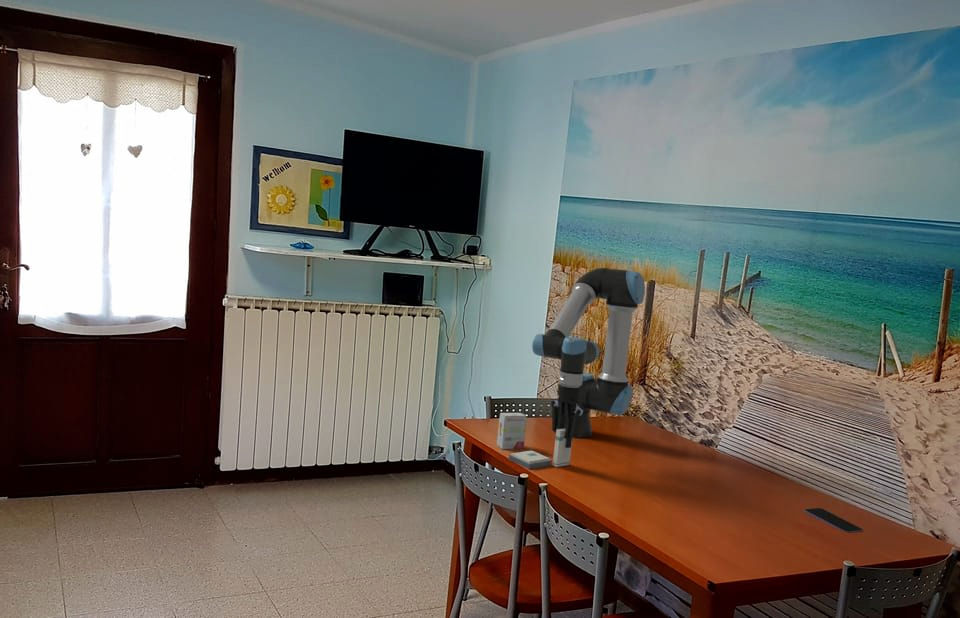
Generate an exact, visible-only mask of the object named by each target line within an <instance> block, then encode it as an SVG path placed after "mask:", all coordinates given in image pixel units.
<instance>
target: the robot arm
mask: <svg viewBox="0 0 960 618" xmlns="http://www.w3.org/2000/svg"><path fill="white" fill-rule="evenodd" d="M570 291H571V294H570V295H569V296H568V298H567V300H566V301H565V303H564V304H563V306H562V307H561V309H560V310H559V312H558V314H557V315H556V317H555V318H554V320H553V321H552V323H551V325H550V326H549V328H548V329H547V330H546V332H545V334H544V333H538V334H536V335H534V337H533V340H532V343H531V344H532V345H531V348H532V351H533V354H535V355H537V356H539V357H543V358H550V359H553V360H560V369H559V378H558V383H559V384H558V386H557V400H551V402H550V404H551V408H552V411H551V412H552V414H551V416H552V417H551V418H552V420H551V421H552V422H551V424H552V425H551V430H552V431H553V432H555V433H556V430H557V429H564V428H566V433H565V436H564V437H563V444H562V453H561V457H569V449H570V448H571V449H572V446H571V443H573V438H588V437H591V436H592V435H593V426H592V425H591V424H592V423H591V418H590V417H591V416H590V415H591V413H590V411H591V410H593V411H597V412H602V413H606V414H610V415H614V416H615V415H617V416H620V415H621V416H622V415H624V414H625V413H626V412H627V410H628V409H629V406H630V404H631V401H632V398H633V392H634V391H633V386H632V385H630V384H629V383H630V382H629V378H628V377H627V375H626V371H627V365H628V364H627V362H628V357H629V347H630V337H631V329H632V322H633V314H634V312H635V311H636V310H637V309H638V307H639V305H641V304H643V302H644V300H645V296H646V295H645V294H646V285H645V280H644V276H643V275H642V273H640V272H639V271H634V270H630V269H628V270H627V269H617V268H607V267H597V268H595V269H594V268H593V269H592V270H589V271H588V272H586V273H584V274H583V275H581V277H579V278H578V279H577V280H576V281H575V283H574V284H573V285H572V287H571V290H570ZM596 299H603V300H606V301H605V302H606V303H605V305H606V307H607V308H608V309H609V313H608V322H607V326H606V327H607V329H606V336H605V337H606V338H605V347H604V354H603V361H602V362H603V365H602V371H601V373H599V374H598V375H597V378H595V376H594V374H593V373H590V372H588V373H587V372H584V369H585V365H588V364H592V363H593V362H595V361H596V360H598V358H599V356H600V348H599V346H598V344H597V343H596V342H595V341H592V340H586V339H585V338H582V337H577V336H570V335H571V334H572V332H573V331H574V329H575V327H576V326H577V324H578V323H579V321H580V319H581V318H582V316H583V315H584V313H585V311H586V310H587V308H588V306H589V305H590V304H591V305H592V303H594V302H595V300H596Z"/></svg>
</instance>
